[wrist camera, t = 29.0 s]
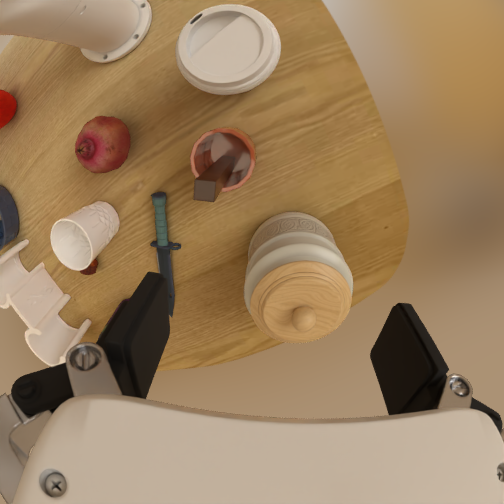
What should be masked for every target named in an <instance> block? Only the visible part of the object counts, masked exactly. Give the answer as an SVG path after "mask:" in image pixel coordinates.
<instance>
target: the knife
mask: <svg viewBox="0 0 504 504" xmlns="http://www.w3.org/2000/svg"><path fill="white" fill-rule="evenodd" d="M151 196H152V201H153V205H154V206H155V219H156V220H155V225H156V226H155V227H156V234H157V241H153V242H152V243H151V244H150V245H151V246H153V247H157V261H158V269H159V273H161V274H163V278H167V281H168V305H169V315H170V316H171V317H172V315H173V307H174V297H175V295H174V287H173V278H172V269H171V259H170V249H172V250H178V249H180V248H181V244H179V243H173V242H168V238H167V226H166V225H167V222H166V214H165V204H166V193H164V192H157V193H154V194H152V195H151ZM173 246H179V247H173ZM170 293H171V295H172V297H170Z"/></svg>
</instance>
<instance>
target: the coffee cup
mask: <svg viewBox="0 0 504 504" xmlns="http://www.w3.org/2000/svg"><path fill="white" fill-rule="evenodd" d="M280 53H281V42H280V37H279V34H278V32H277V30H276V28H275V26H274V25H273V24H272V22H271V21H270V20H269V19H268V18H267V17H266V16H265V15H263V14H262V13H260V12H259V11H257V10H255V9H253V8H250V7H247V6H243V5H236V4H224V5H217V6H213V7H210V8H207V9H205V10H203V11H201V12H200V13H198V14H196V15H195V16H194V17H193V18H191V19H190V20H189V21H188V22H187V24H186V25H185V26H184V27H183V29H182V31H181V32H180V34H179V37H178V39H177V43H176V50H175V54H176V61H177V65H178V67H179V70H180V72H181V73H182V75H183V76H184V77H185V79H186V80H187V81H188V82H189V83H191V84H192V85H193V86H195V87H196V88H198V89H200V90H202V91H205V92H208V93H212V94H218V95H232V94H238V93H242V92H247V91H249V90H251V89H253V88H255V87H256V86H258V85H259V84H261V83H262V82H263V81H264V80H266V79H267V78H268V77H269V76H270V74H271V73H272V72H273V70H274V69H275V67H276V65H277V63H278V61H279V58H280Z"/></svg>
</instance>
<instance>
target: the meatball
mask: <svg viewBox="0 0 504 504" xmlns="http://www.w3.org/2000/svg"><path fill="white" fill-rule="evenodd" d="M97 265H98V261H97V260H96V259H94V260H93V261H92V263H91V264H90V265H89V266H88V267H87V268H86V269H84V270H80V273H82V274H85V275H91V274H94V273H96V268H97Z"/></svg>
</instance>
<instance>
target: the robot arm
mask: <svg viewBox="0 0 504 504" xmlns="http://www.w3.org/2000/svg"><path fill="white" fill-rule="evenodd" d="M151 19H152V11H151V7H150V4H149V3H148V1H147V0H0V35H17V36H25V37H32V38H38V39H43V40H49V41H54V42H58V43H63V44H67V45H71V46H76V47H80V50H81V52H82V54H83V55H84V56H85V57H86V58H87V59H89V60H91V61H94V62H99V63H107V62H112V61H116V60H118V59H120V58H122V57H124V56H125V55H127V54H129V53H130V52H131V51H132V50H133V49H135V48H136V47H137V46H138V44H139V43H140V42H141V41H142V40H143V38H144V37H145V35H146V33H147V31H148V29H149V27H150V24H151ZM107 57H108V58H107ZM169 334H170V323H169V305H168V281H167V278H163V274H161V273H155V272H148V273H147V274H146V276H145V277H144V278H143V280H142V281H141V283H140V284H139V286H138V287H137V289H136V290H135V292H134V293H133V295H132V296H131V298H130V300H129V301H128V300H125V301H123V302H122V304H121V305H120V307H119V308H118V310H117V311H116V313H115V314H114V316H113V317H112V319H111V320H110V322H109V323H108V325H107V326H106V328H105V330H104V331H103V333H102V334H101V336H100V338H99V339H98V341H97V342H96V344H95V343H93V342H82V343H79V344H76V345H74V346H73V347H72V348H70V350H69V351H68V352H67V354H66V357H65V359H66V362H65V363H62V364H59V365H56V366H53V367H49V368H46V369H43V370H40V371H37V372H33V373H30V374H27V375H24V376H22V377H20V378H19V379H17V380H16V381H15V383H14V384H13V387H12V390H11V394H9V395H8V396H7V394H6V393H4V394H3V395H1V396H0V493H1V495H2V496H3V498H4V499H5V501H6V503H7V504H504V428H503V429H502V420H501V417H500V415H499V414H498V413H497V412H495V411H494V410H492V409H490V408H489V407H487V406H486V405H484V404H482V403H481V402H479V401H477V400H476V399H474V398H473V397H472V394H473V391H472V390H473V389H472V386H471V384H470V382H469V381H468V380H467V379H466V378H465V377H463V376H462V375H459V374H451V375H449V376H448V377H447V375H446V373H447V372H448V370H449V368H448V366H447V364H446V363H445V361H444V359H443V357H442V355H441V354H440V352H439V350H438V348H437V347H436V345H435V343H434V341H433V340H432V338H431V336H430V334H429V333H428V332H427V329H426V328H425V326H424V324H423V323H422V321H421V320H420V318H419V316H418V315H417V313H416V312H415V310H414V308H413V307H412V305H411V304H407V303H398V304H396V306H394V307H393V308H392V310H391V312H390V314H389V316H388V318H387V320H386V322H385V324H384V326H383V329H382V331H381V333H380V335H379V337H378V339H377V341H376V342H375V345H374V346H373V348H372V350H371V353H370V358H371V361H372V364H373V367H374V370H375V373H376V376H377V379H378V382H379V384H380V388H381V391H382V394H383V397H384V400H385V404H386V407H387V410H388V413H389V415H388V416H376V417H362V418H342V419H340V418H339V419H298V418H276V417H261V416H248V415H240V414H231V413H223V412H216V411H209V410H202V409H196V408H190V407H184V406H178V405H173V404H168V403H163V402H158V401H153V400H147V399H146V397H147V394H148V391H149V388H150V386H151V383H152V380H153V377H154V374H155V372H156V369H157V367H158V364H159V361H160V359H161V356H162V353H163V351H164V348H165V346H166V343H167V341H168V338H169ZM33 446H34V447H33ZM32 447H33V449H32V451H31V454H30V456H29V453H30V450H31V448H32Z"/></svg>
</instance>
